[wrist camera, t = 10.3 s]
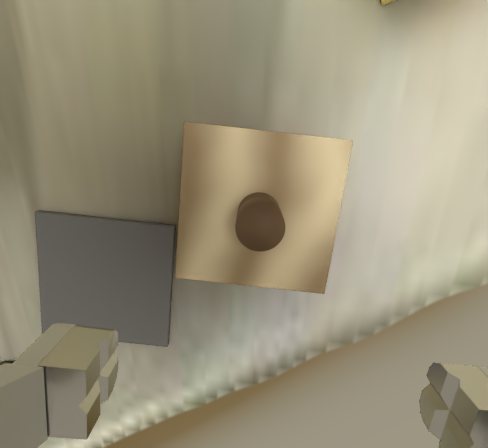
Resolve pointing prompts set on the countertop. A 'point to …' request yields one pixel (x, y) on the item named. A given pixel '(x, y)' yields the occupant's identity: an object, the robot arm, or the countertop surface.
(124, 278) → the mat
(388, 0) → the candy box
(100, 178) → the countertop surface
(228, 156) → the lid
